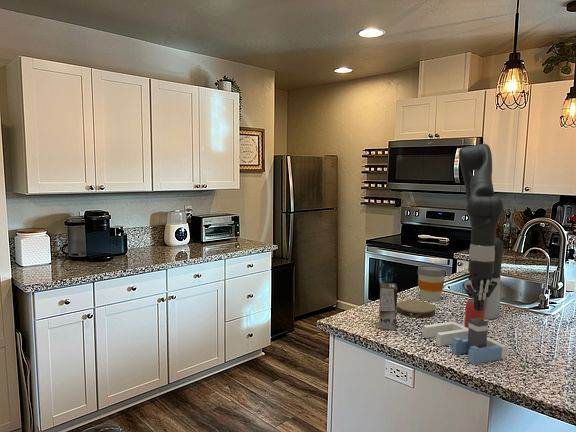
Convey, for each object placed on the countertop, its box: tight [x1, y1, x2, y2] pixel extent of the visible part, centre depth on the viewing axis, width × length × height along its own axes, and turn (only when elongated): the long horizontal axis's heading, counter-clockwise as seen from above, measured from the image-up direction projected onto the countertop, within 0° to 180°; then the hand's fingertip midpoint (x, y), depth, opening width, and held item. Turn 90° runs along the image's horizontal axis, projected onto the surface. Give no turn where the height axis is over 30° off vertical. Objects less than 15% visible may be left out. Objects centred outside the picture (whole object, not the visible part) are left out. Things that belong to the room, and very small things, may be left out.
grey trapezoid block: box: [466, 318, 489, 355], centre depth 140 cm, size 4×4×12 cm
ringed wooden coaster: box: [396, 300, 436, 319], centre depth 184 cm, size 16×16×3 cm
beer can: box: [464, 297, 485, 328], centre depth 162 cm, size 7×7×12 cm
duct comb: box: [422, 320, 508, 365], centre depth 148 cm, size 14×24×5 cm, turn 21°
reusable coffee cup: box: [417, 264, 446, 302], centre depth 203 cm, size 13×13×15 cm
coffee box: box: [378, 282, 398, 331], centre depth 167 cm, size 9×6×16 cm
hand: (478, 310), depth 139 cm, fingers closed
